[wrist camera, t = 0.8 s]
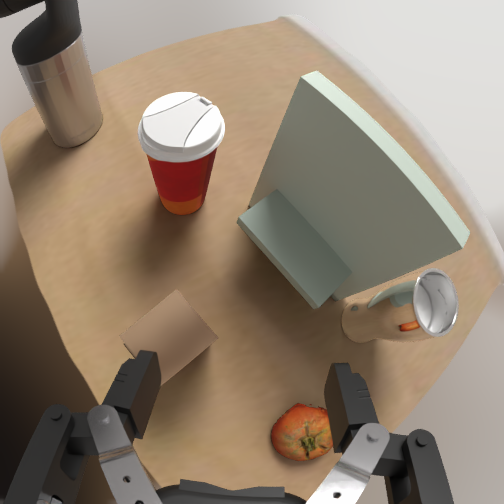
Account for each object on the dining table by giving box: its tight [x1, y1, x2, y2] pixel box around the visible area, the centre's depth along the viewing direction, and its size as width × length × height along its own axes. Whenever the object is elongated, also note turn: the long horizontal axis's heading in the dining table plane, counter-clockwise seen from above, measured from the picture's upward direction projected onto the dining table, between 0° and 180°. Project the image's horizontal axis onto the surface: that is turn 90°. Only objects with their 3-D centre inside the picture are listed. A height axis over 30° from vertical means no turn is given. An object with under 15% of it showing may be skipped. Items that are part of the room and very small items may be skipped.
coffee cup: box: [138, 92, 225, 215], centre depth 31 cm, size 8×8×15 cm
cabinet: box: [119, 289, 218, 386], centre depth 27 cm, size 5×7×12 cm
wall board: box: [237, 71, 470, 309], centre depth 28 cm, size 17×10×22 cm, turn 42°
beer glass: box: [341, 268, 458, 343], centre depth 31 cm, size 7×7×15 cm
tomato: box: [271, 403, 333, 461], centre depth 31 cm, size 8×7×7 cm
